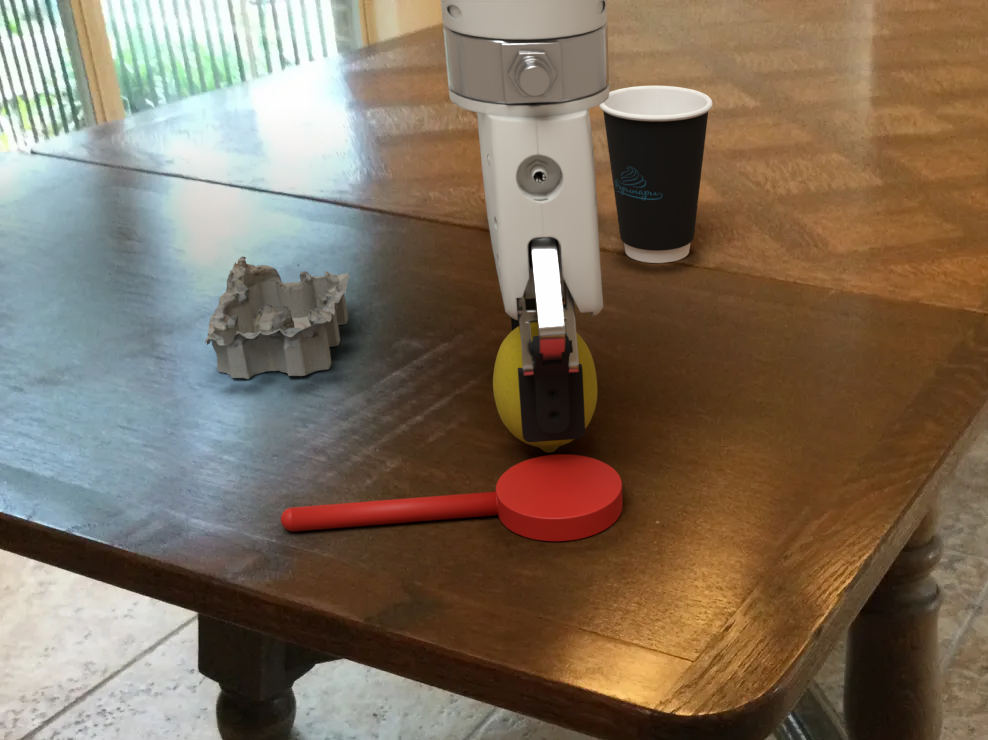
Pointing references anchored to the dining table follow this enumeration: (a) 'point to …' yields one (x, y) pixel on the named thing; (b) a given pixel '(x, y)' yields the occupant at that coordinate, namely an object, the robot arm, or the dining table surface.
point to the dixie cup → (656, 167)
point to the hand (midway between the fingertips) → (548, 402)
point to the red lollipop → (498, 502)
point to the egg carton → (277, 321)
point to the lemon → (509, 385)
